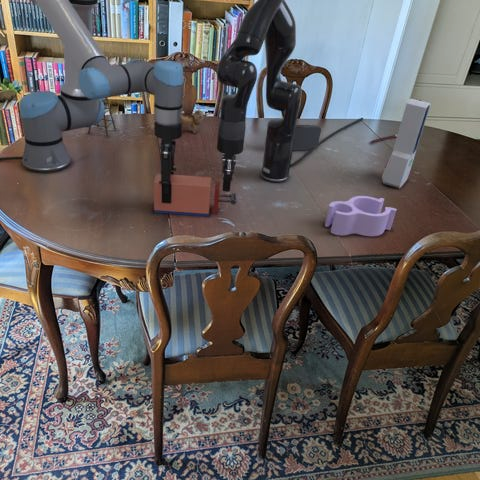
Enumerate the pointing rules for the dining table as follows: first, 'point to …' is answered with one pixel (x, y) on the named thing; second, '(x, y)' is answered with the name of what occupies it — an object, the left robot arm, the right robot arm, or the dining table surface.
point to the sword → (383, 138)
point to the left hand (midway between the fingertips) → (167, 196)
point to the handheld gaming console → (306, 137)
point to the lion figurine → (193, 120)
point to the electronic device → (406, 143)
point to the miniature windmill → (105, 119)
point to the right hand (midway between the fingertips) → (226, 190)
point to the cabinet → (184, 195)
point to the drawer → (217, 195)
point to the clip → (359, 216)
